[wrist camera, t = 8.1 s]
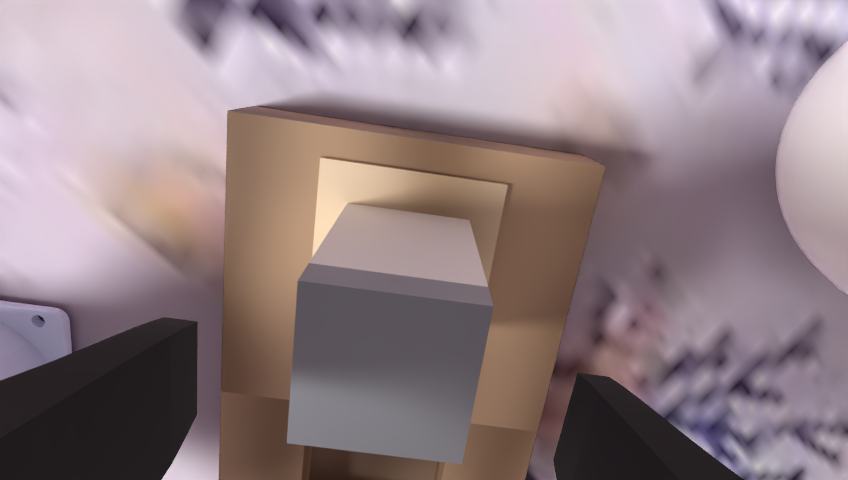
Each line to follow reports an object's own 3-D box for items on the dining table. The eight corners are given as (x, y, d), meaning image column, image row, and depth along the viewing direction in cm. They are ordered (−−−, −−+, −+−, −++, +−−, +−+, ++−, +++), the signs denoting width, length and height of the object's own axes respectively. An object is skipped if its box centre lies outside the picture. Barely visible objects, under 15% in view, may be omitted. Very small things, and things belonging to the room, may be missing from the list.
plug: (336, 313, 18) (286, 443, 11) (347, 202, 16) (297, 280, 10) (450, 328, 18) (462, 464, 12) (469, 219, 16) (493, 306, 10)
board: (238, 500, 24) (215, 552, 21) (253, 106, 18) (225, 111, 15) (492, 531, 24) (499, 585, 21) (582, 154, 18) (607, 167, 16)
